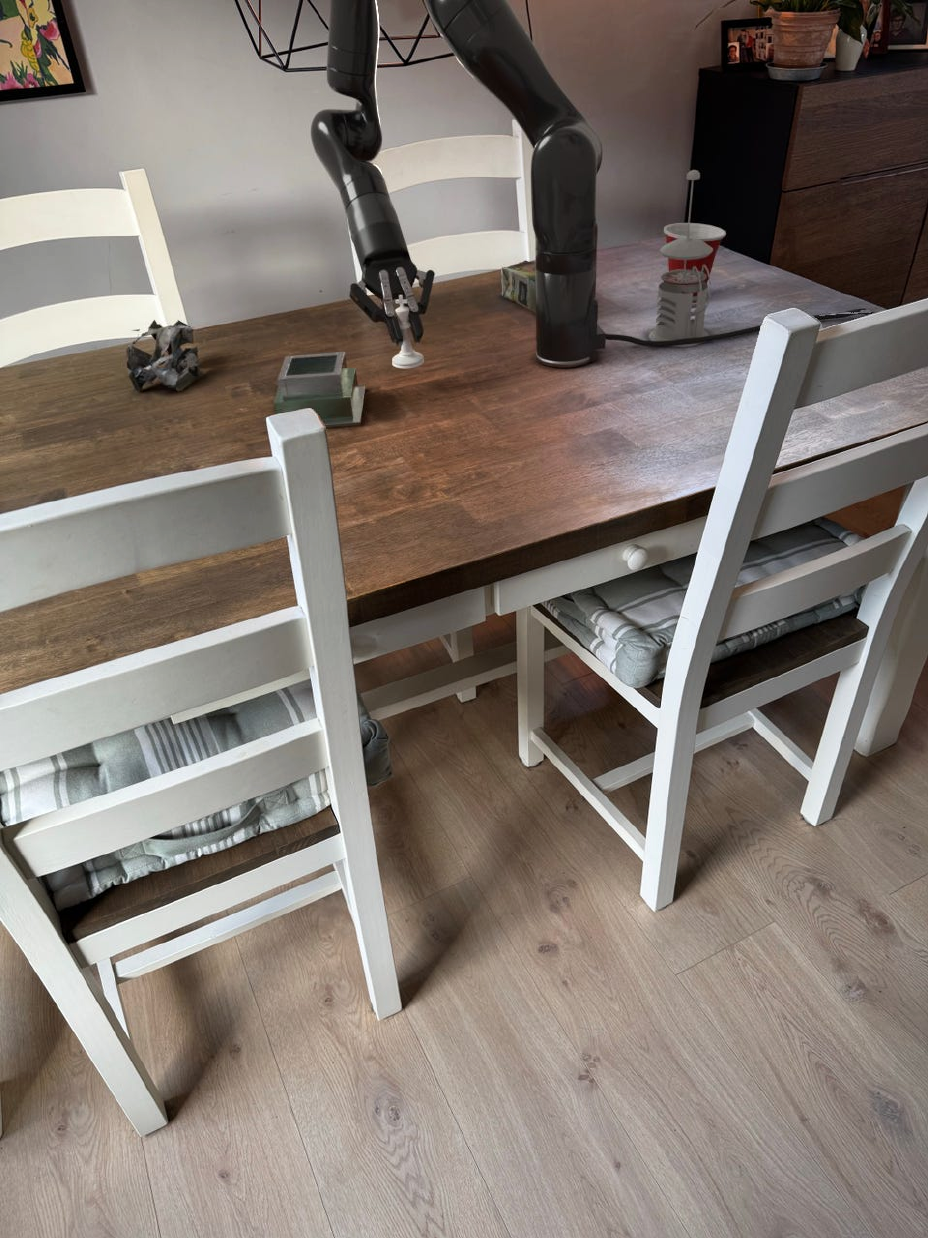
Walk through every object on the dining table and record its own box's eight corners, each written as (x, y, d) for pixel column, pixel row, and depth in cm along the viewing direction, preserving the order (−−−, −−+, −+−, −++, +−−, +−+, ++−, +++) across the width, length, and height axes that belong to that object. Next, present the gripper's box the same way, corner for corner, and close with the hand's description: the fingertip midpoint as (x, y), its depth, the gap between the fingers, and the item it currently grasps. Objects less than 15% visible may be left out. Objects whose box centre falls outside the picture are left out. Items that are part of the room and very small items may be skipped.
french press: (689, 322, 147) (705, 160, 132) (726, 343, 139) (748, 173, 123) (638, 331, 145) (648, 168, 130) (672, 354, 136) (687, 182, 121)
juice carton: (496, 294, 165) (495, 261, 162) (540, 285, 169) (540, 253, 165) (550, 325, 151) (551, 289, 147) (597, 314, 154) (599, 279, 150)
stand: (365, 389, 133) (359, 345, 129) (360, 425, 123) (353, 378, 118) (282, 395, 133) (273, 351, 129) (270, 432, 123) (260, 385, 119)
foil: (99, 369, 138) (148, 295, 140) (147, 409, 147) (193, 339, 149) (140, 381, 131) (191, 302, 134) (188, 422, 140) (235, 348, 143)
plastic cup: (724, 305, 153) (733, 233, 146) (663, 308, 154) (669, 237, 146) (711, 286, 162) (719, 218, 154) (653, 289, 162) (658, 222, 155)
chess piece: (420, 368, 127) (412, 300, 121) (388, 368, 128) (379, 301, 122) (427, 356, 131) (421, 289, 125) (397, 356, 132) (389, 289, 126)
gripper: (332, 227, 122) (366, 338, 121) (424, 212, 125) (458, 320, 124) (330, 256, 130) (362, 362, 128) (417, 242, 133) (449, 344, 131)
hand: (409, 341), depth 126 cm, fingers closed on chess piece
